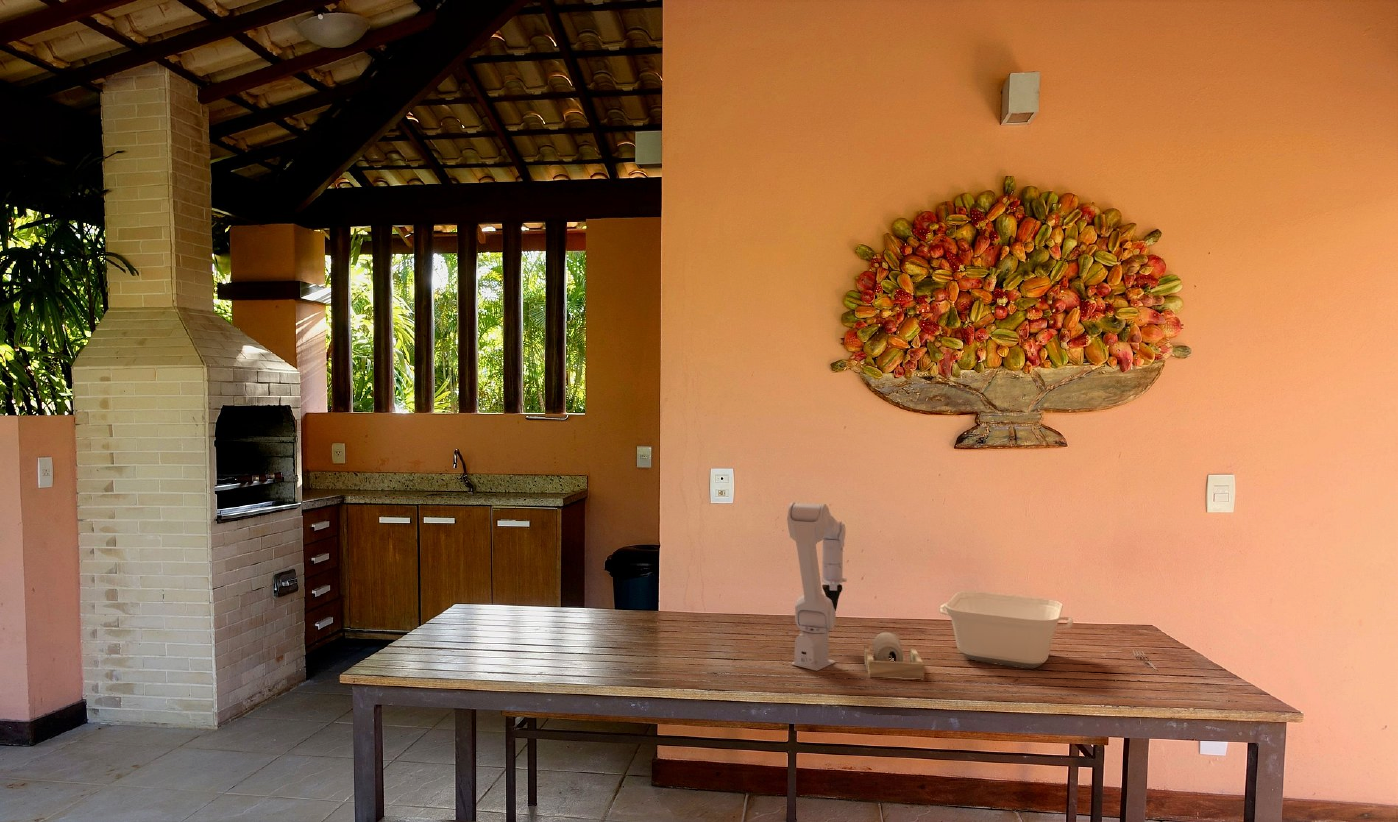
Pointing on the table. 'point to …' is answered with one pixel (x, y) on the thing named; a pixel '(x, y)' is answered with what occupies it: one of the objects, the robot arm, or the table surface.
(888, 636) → the can
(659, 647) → the table surface
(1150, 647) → the table surface
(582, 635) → the table surface
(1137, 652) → the fork
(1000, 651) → the pot
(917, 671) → the tray
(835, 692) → the table surface
